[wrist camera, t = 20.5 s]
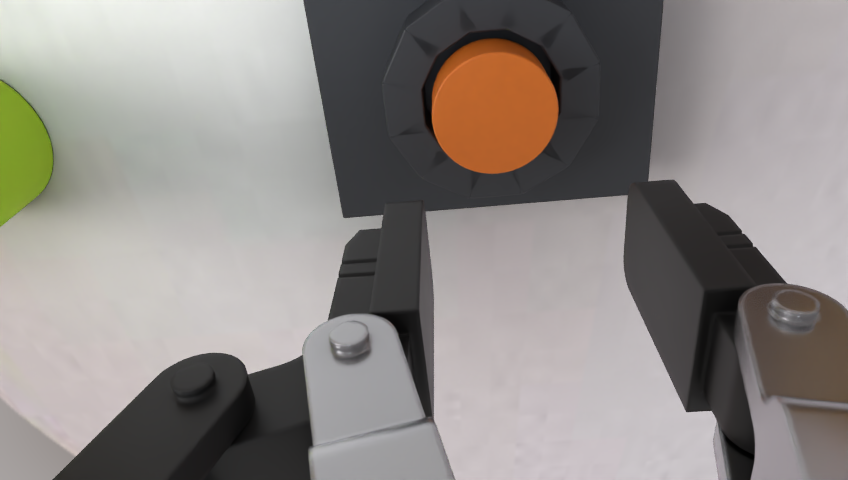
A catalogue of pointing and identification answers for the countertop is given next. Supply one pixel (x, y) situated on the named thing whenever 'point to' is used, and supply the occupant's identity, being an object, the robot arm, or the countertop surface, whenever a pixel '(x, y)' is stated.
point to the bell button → (493, 106)
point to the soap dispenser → (21, 154)
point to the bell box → (414, 79)
